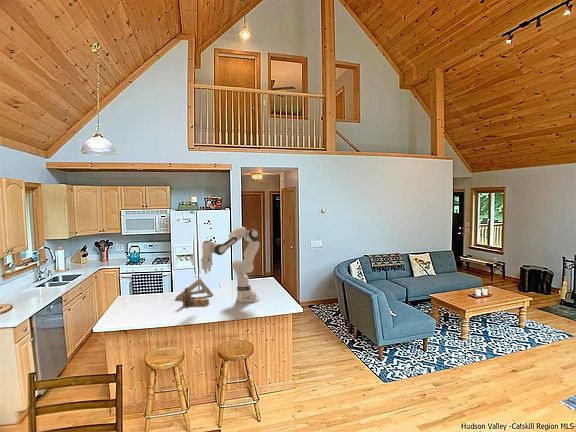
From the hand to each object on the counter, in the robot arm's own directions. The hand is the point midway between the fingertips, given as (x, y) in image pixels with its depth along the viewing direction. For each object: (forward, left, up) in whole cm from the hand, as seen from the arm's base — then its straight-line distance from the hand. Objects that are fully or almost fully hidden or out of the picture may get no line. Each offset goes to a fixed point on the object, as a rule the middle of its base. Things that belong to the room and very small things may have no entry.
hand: (207, 272), depth 312 cm
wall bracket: (+22, -23, -32) cm, 45 cm away
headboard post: (+19, 0, -31) cm, 36 cm away
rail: (+8, 0, -31) cm, 32 cm away
